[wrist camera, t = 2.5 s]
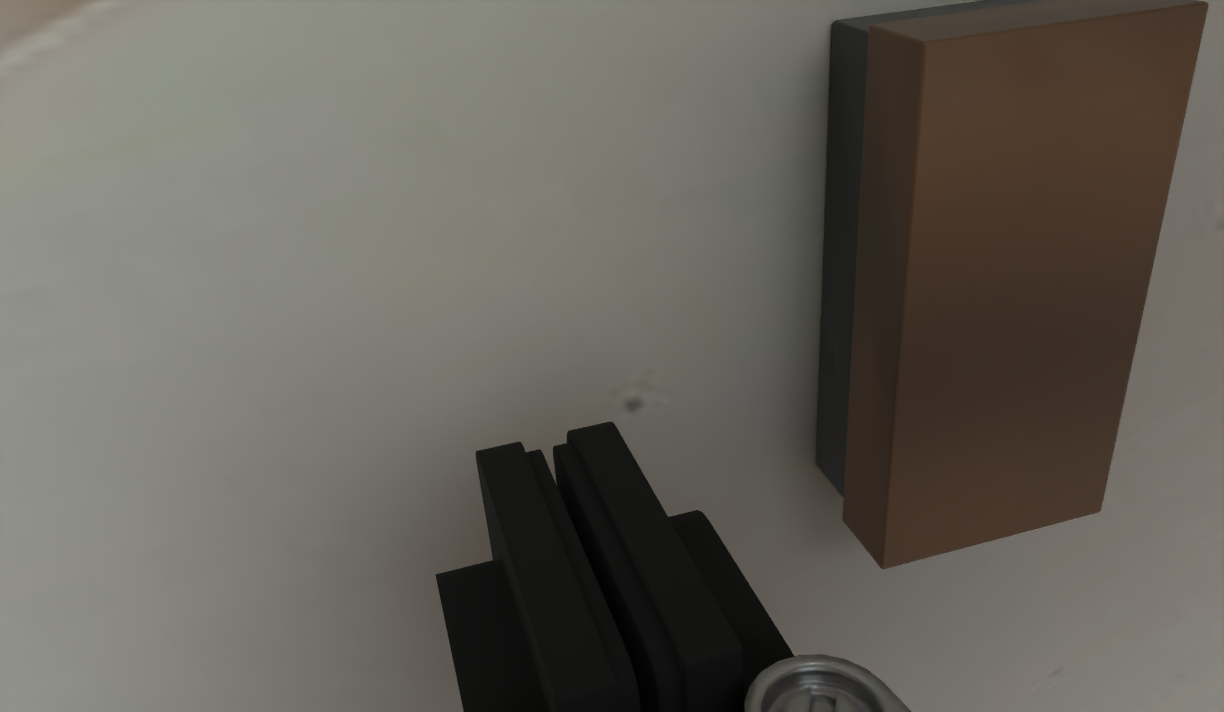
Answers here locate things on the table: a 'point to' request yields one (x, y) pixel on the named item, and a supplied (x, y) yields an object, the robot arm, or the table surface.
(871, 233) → the brush
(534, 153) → the table surface
